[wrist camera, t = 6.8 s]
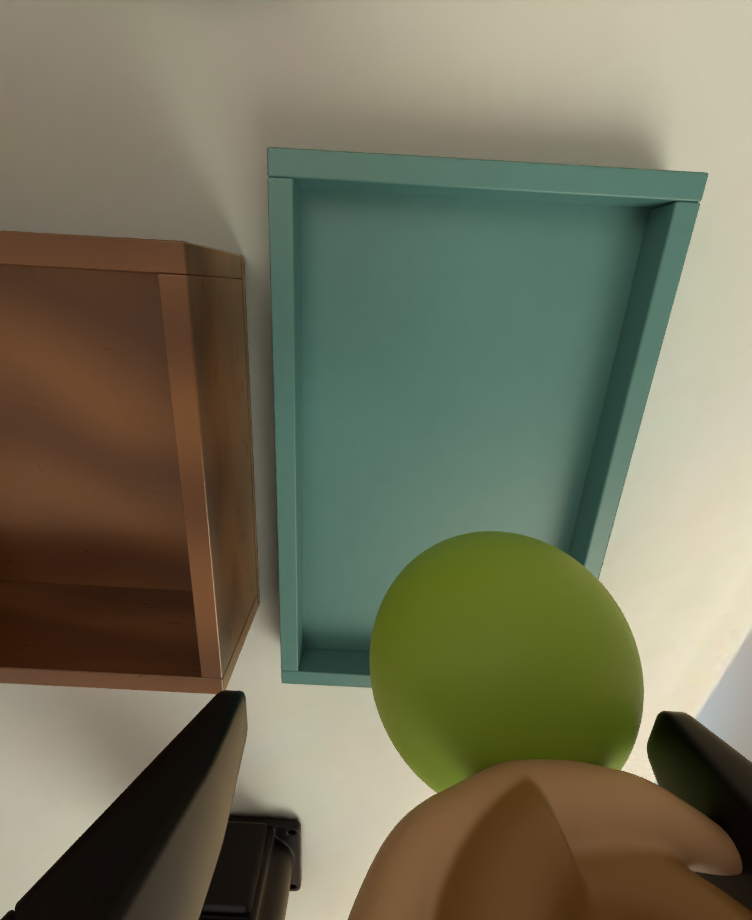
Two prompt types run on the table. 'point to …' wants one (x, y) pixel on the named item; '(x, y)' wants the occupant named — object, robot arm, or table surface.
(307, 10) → the table surface
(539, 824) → the snail figurine
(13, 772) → the table surface
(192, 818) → the robot arm
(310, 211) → the tray
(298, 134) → the table surface
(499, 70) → the table surface
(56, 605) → the wooden box
